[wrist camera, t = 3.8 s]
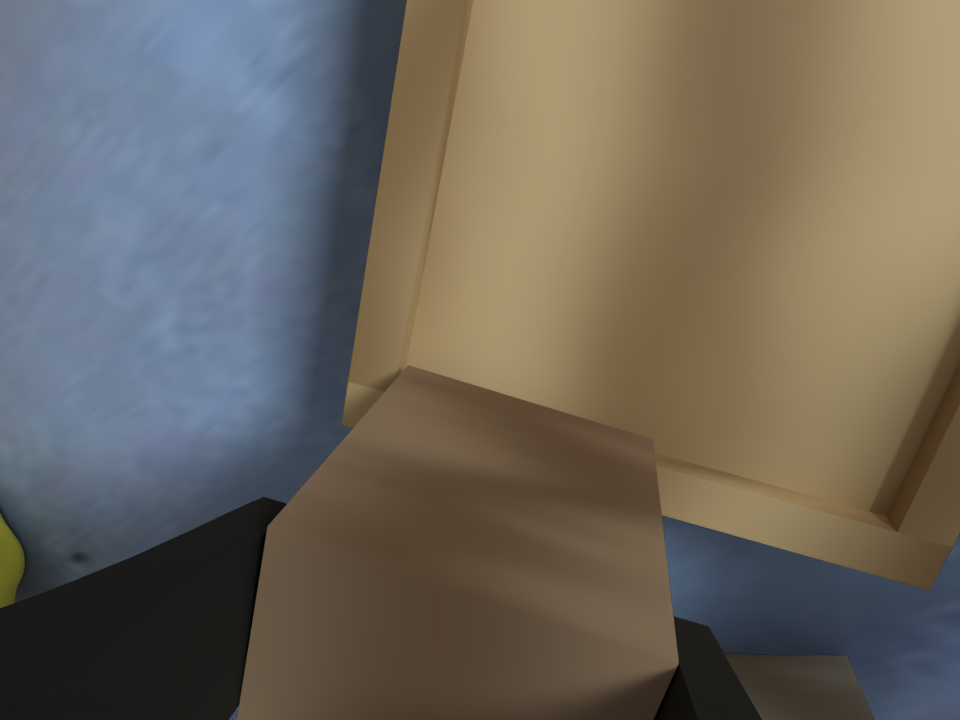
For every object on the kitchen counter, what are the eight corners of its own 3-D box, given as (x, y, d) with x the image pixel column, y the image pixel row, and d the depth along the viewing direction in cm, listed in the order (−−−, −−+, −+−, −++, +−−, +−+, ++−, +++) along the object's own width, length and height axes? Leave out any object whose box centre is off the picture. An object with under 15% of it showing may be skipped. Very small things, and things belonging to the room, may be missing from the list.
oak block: (1109, -58, 13) (1310, -137, 9) (860, 488, 17) (929, 590, 13) (494, -167, 14) (449, -276, 11) (399, 364, 18) (341, 424, 15)
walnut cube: (653, 439, 13) (679, 662, 8) (578, 637, 15) (556, 936, 10) (408, 365, 14) (266, 526, 8) (363, 565, 16) (222, 810, 10)
